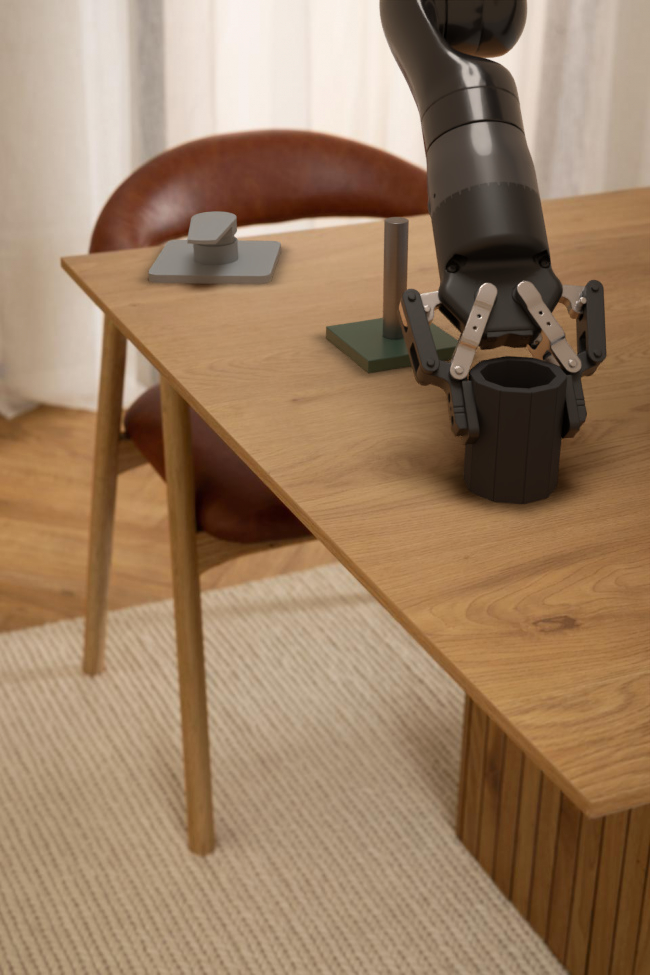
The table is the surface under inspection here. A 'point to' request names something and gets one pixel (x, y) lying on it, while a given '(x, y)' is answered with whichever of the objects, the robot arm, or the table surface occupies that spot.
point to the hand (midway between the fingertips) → (521, 436)
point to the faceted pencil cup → (516, 429)
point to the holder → (387, 314)
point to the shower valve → (215, 255)
